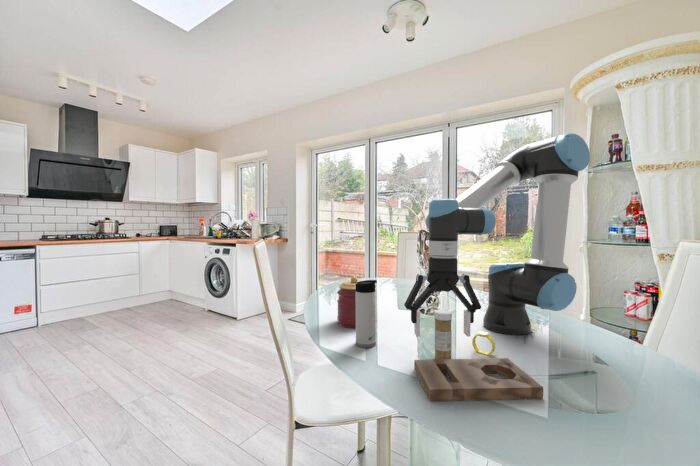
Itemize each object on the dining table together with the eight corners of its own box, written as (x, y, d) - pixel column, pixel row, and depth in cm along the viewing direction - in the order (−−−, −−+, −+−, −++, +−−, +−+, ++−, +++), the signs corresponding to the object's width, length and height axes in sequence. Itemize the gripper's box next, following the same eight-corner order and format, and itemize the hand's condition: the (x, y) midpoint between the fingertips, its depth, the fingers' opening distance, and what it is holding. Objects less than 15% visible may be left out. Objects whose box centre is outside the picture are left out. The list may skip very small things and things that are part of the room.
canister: (377, 320, 117) (377, 275, 117) (360, 331, 106) (360, 280, 106) (349, 315, 124) (348, 272, 124) (330, 324, 113) (330, 277, 113)
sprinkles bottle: (443, 355, 86) (443, 308, 85) (455, 361, 82) (455, 312, 81) (430, 358, 84) (430, 310, 83) (442, 365, 80) (442, 314, 79)
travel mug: (375, 349, 90) (375, 282, 90) (354, 347, 92) (353, 281, 91) (378, 341, 97) (377, 278, 96) (357, 339, 98) (357, 278, 97)
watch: (471, 353, 88) (470, 332, 88) (475, 350, 90) (474, 330, 90) (493, 357, 84) (491, 336, 84) (496, 354, 86) (495, 333, 86)
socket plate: (507, 367, 78) (507, 358, 78) (543, 398, 64) (543, 387, 64) (414, 369, 77) (414, 359, 77) (429, 401, 63) (429, 389, 63)
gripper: (399, 257, 78) (398, 340, 78) (495, 258, 78) (494, 339, 79) (394, 255, 85) (393, 330, 86) (482, 255, 86) (481, 330, 86)
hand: (442, 334), depth 82 cm, fingers open, 13 cm apart
